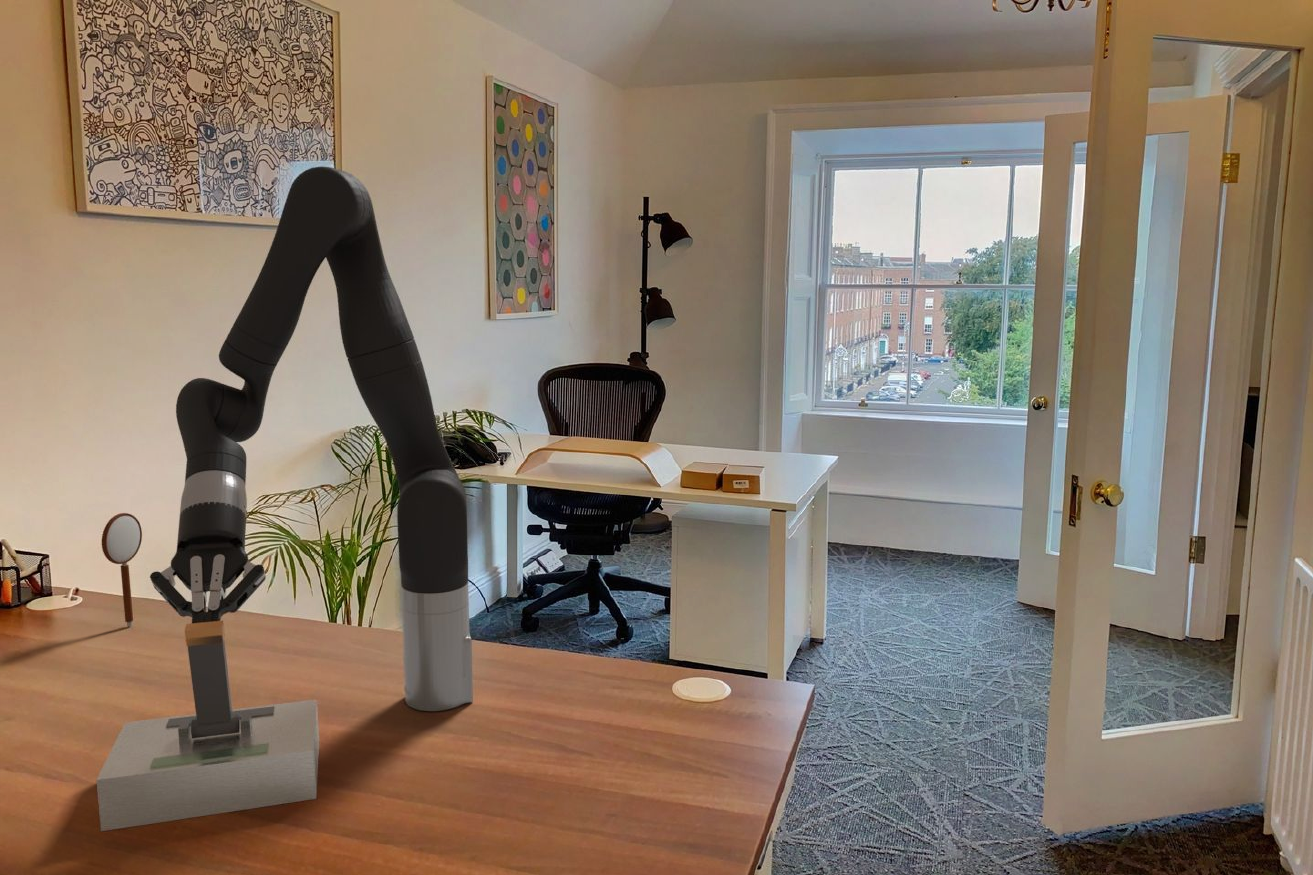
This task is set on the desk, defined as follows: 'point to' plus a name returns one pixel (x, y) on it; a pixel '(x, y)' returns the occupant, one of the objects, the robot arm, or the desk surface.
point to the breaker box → (209, 766)
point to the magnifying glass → (122, 551)
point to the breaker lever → (210, 680)
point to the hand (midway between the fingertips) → (204, 645)
